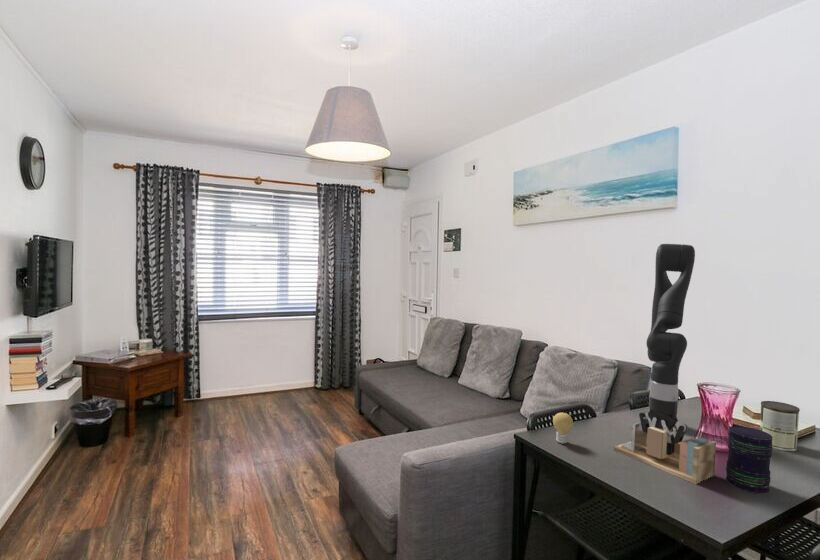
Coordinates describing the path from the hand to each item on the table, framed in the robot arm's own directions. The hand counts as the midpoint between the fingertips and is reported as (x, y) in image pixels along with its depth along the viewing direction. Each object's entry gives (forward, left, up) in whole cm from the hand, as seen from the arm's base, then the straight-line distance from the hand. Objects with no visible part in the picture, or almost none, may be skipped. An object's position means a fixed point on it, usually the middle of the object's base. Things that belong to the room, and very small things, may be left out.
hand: (660, 450), depth 133 cm
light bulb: (+15, -25, -4) cm, 29 cm away
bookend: (0, -9, -3) cm, 9 cm away
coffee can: (-53, +11, -4) cm, 54 cm away
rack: (-1, 0, -4) cm, 4 cm away
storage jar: (-9, +19, -4) cm, 22 cm away
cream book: (0, 0, -1) cm, 1 cm away
